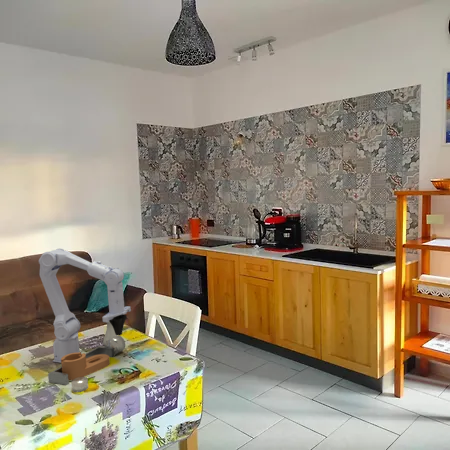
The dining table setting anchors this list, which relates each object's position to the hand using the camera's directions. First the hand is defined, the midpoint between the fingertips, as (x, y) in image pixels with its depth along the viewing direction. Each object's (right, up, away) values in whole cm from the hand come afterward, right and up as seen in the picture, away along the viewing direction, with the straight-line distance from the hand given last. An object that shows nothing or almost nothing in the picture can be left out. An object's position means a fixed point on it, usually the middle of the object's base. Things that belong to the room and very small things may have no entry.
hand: (118, 334), depth 158 cm
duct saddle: (-10, -11, -4) cm, 15 cm away
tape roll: (-7, -12, -22) cm, 26 cm away
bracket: (-10, -12, -7) cm, 17 cm away
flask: (-8, -9, +20) cm, 24 cm away
